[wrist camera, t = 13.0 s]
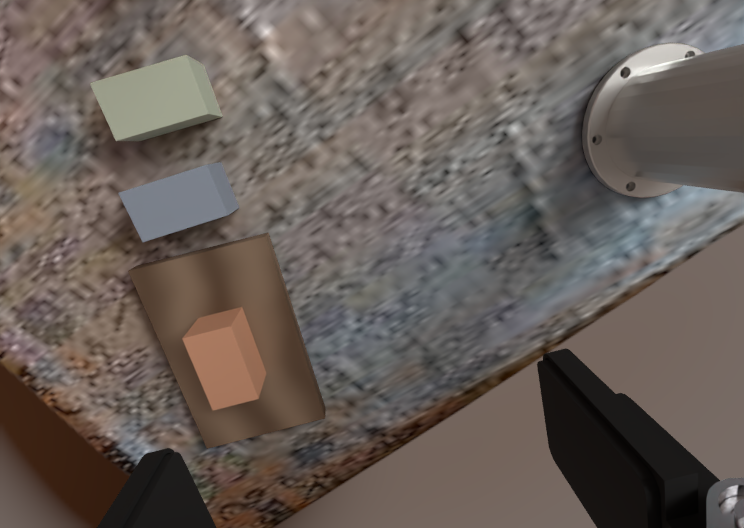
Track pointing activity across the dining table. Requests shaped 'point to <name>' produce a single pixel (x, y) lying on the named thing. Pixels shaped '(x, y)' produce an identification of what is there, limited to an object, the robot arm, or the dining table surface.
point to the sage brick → (157, 99)
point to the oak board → (267, 324)
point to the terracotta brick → (226, 358)
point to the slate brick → (180, 201)
